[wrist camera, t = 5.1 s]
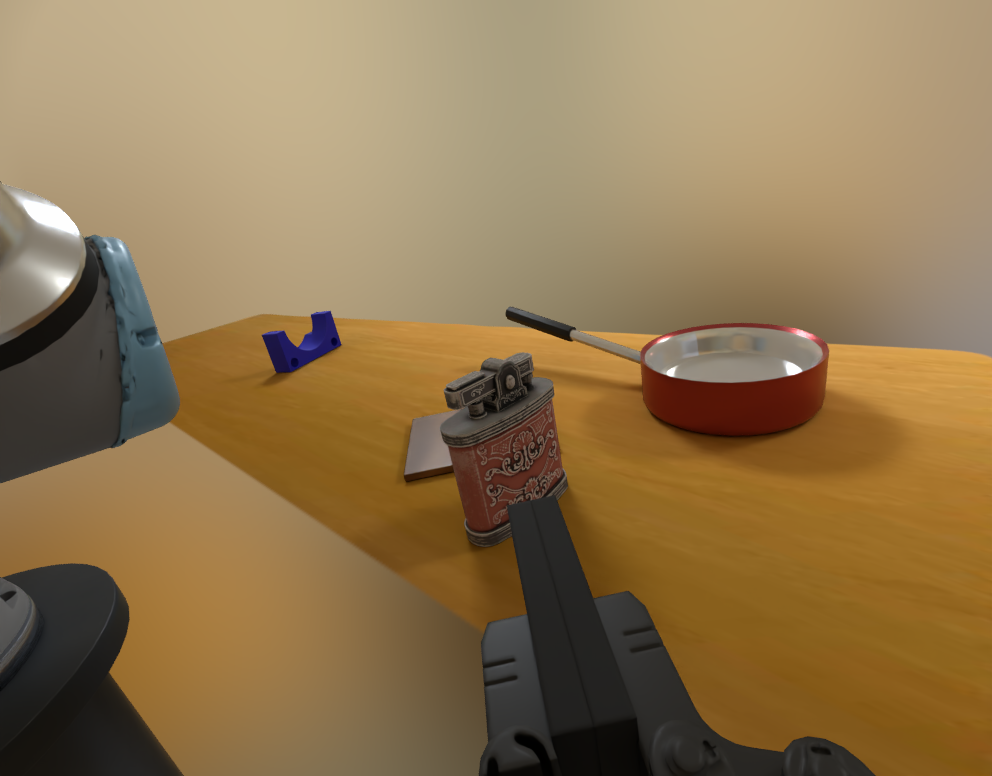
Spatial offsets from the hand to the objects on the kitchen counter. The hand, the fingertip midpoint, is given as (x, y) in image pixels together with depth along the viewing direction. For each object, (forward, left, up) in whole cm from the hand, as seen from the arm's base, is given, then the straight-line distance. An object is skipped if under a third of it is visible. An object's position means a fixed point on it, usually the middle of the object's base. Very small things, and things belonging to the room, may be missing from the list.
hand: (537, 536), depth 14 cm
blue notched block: (-28, +63, -9) cm, 70 cm away
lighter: (0, +13, -9) cm, 16 cm away
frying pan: (+12, +29, -9) cm, 33 cm away
